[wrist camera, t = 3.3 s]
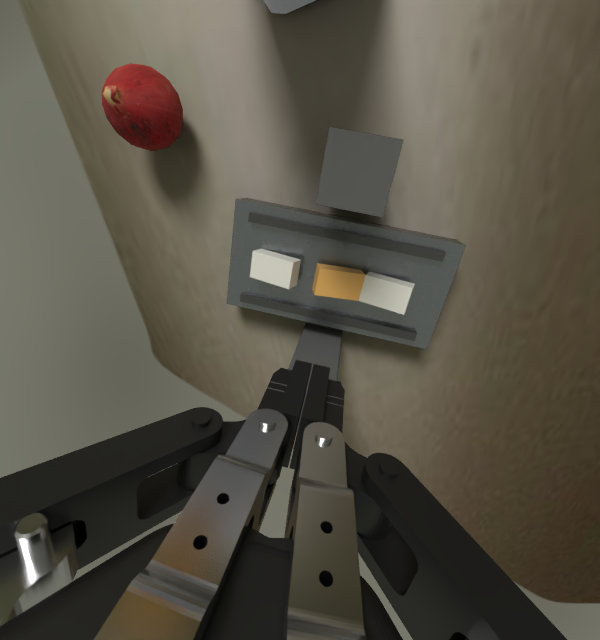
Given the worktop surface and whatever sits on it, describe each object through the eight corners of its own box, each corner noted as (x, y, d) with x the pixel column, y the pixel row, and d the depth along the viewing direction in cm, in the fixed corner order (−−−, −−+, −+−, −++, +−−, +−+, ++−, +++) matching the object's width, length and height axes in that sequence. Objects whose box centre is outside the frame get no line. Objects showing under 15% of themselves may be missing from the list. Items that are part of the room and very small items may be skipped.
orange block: (360, 269, 29) (365, 274, 28) (354, 294, 30) (358, 300, 29) (317, 263, 28) (319, 268, 27) (312, 288, 29) (314, 295, 28)
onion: (206, 145, 30) (158, 132, 23) (153, 160, 31) (91, 152, 24) (186, 71, 28) (126, 31, 21) (130, 90, 29) (55, 59, 22)
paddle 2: (415, 283, 28) (412, 288, 26) (406, 309, 29) (404, 314, 27) (369, 271, 29) (365, 274, 28) (363, 296, 30) (358, 300, 29)
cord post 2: (385, 157, 28) (403, 139, 17) (373, 205, 30) (382, 217, 19) (340, 149, 28) (329, 126, 18) (330, 197, 30) (315, 204, 19)
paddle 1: (301, 259, 29) (293, 262, 27) (296, 285, 29) (288, 289, 28) (261, 248, 30) (252, 250, 28) (258, 273, 31) (249, 276, 29)
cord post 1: (342, 331, 35) (334, 397, 24) (334, 362, 37) (323, 438, 26) (305, 323, 35) (282, 384, 24) (299, 354, 37) (274, 425, 26)
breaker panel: (456, 239, 30) (468, 246, 26) (420, 336, 34) (427, 352, 30) (246, 197, 31) (233, 199, 28) (236, 294, 35) (224, 305, 32)
